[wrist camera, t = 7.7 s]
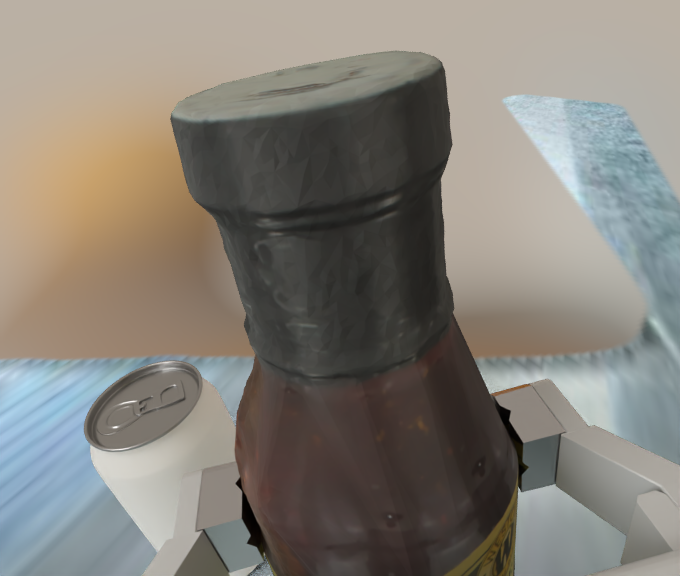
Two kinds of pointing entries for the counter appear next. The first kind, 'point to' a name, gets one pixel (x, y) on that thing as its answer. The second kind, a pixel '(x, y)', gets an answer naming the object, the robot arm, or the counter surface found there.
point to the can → (158, 441)
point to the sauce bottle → (351, 322)
